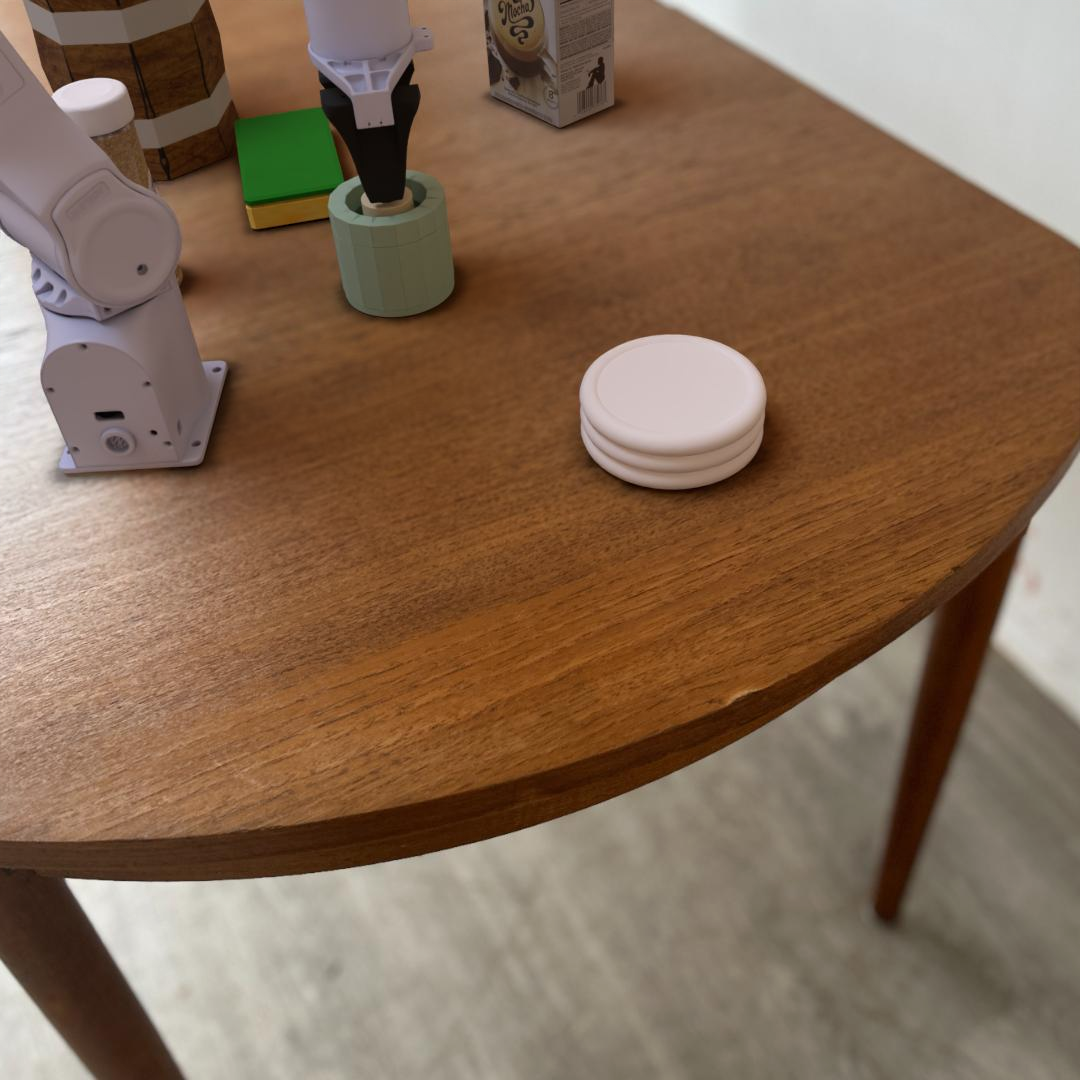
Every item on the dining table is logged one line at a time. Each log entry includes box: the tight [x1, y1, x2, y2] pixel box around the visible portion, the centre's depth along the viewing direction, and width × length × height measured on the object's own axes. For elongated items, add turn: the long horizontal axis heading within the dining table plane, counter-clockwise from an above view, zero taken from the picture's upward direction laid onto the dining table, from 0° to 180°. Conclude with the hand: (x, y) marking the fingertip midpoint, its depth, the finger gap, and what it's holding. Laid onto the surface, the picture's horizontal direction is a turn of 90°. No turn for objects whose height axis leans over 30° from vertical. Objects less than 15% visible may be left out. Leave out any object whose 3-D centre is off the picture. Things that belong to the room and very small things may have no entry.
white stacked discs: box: [578, 334, 768, 490], centre depth 65 cm, size 10×10×4 cm
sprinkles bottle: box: [50, 78, 184, 287], centre depth 75 cm, size 5×5×13 cm
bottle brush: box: [361, 187, 414, 217], centre depth 72 cm, size 3×3×11 cm
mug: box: [22, 0, 241, 181], centre depth 93 cm, size 20×14×15 cm
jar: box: [328, 169, 456, 318], centre depth 76 cm, size 7×7×6 cm
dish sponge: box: [234, 106, 345, 230], centre depth 89 cm, size 7×14×2 cm, turn 14°
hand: (385, 190), depth 74 cm, fingers closed on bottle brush, 2 cm apart
